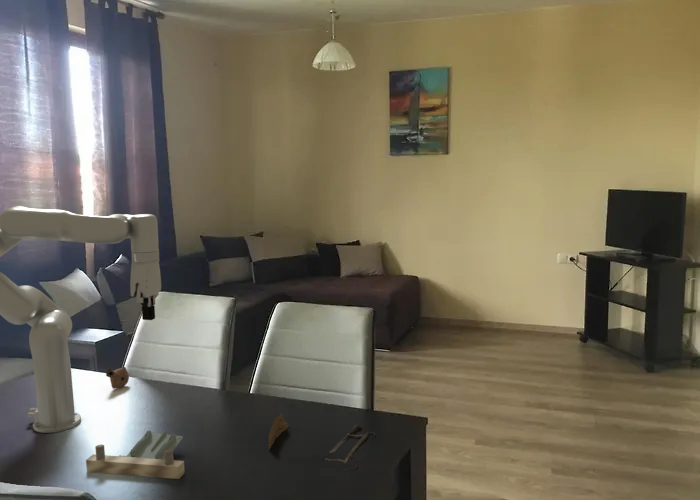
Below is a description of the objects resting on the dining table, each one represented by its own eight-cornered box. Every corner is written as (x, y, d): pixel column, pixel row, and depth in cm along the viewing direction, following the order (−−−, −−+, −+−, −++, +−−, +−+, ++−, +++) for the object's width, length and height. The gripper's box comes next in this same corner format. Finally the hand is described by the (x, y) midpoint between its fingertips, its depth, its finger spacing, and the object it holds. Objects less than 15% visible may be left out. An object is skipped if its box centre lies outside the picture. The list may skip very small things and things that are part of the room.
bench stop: (86, 471, 155) (85, 448, 154) (93, 465, 158) (92, 442, 157) (179, 478, 151) (177, 455, 150) (184, 472, 154) (183, 449, 153)
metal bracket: (140, 423, 170) (190, 429, 165) (145, 440, 172) (194, 447, 168) (107, 461, 157) (160, 469, 153) (113, 479, 160) (165, 487, 155)
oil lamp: (111, 394, 207) (109, 370, 205) (102, 392, 208) (100, 368, 207) (132, 385, 214) (130, 362, 213) (123, 383, 216) (121, 360, 215)
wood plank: (274, 451, 164) (273, 433, 164) (266, 451, 165) (265, 433, 164) (288, 426, 179) (287, 409, 179) (281, 426, 180) (280, 409, 179)
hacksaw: (355, 427, 179) (354, 423, 179) (389, 430, 174) (388, 425, 174) (315, 469, 157) (315, 463, 157) (353, 473, 153) (353, 467, 153)
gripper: (146, 253, 192) (149, 312, 194) (119, 261, 177) (123, 325, 180) (169, 253, 190) (172, 313, 193) (144, 261, 176) (147, 326, 178)
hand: (148, 319), depth 186 cm, fingers closed
